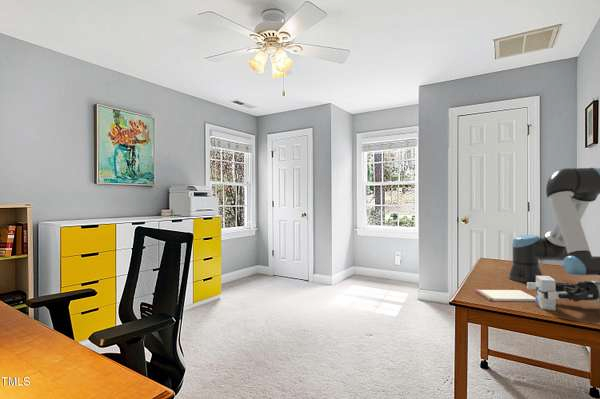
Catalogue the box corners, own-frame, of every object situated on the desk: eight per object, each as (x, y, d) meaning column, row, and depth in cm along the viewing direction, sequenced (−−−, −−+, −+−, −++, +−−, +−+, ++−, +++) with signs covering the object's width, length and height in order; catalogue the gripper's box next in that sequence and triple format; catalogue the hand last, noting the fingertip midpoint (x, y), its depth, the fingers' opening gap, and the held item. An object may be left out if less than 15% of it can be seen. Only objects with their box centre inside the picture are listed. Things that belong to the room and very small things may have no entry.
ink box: (535, 302, 143) (535, 274, 143) (549, 303, 141) (549, 275, 141) (541, 309, 135) (541, 279, 135) (556, 310, 133) (556, 280, 133)
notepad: (519, 292, 157) (520, 289, 157) (537, 301, 144) (537, 298, 144) (475, 291, 159) (475, 289, 159) (489, 300, 146) (489, 298, 146)
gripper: (619, 310, 124) (559, 310, 126) (569, 291, 149) (519, 290, 151) (619, 290, 124) (559, 289, 125) (569, 274, 149) (519, 273, 150)
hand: (537, 290), depth 138 cm, fingers open, 13 cm apart
